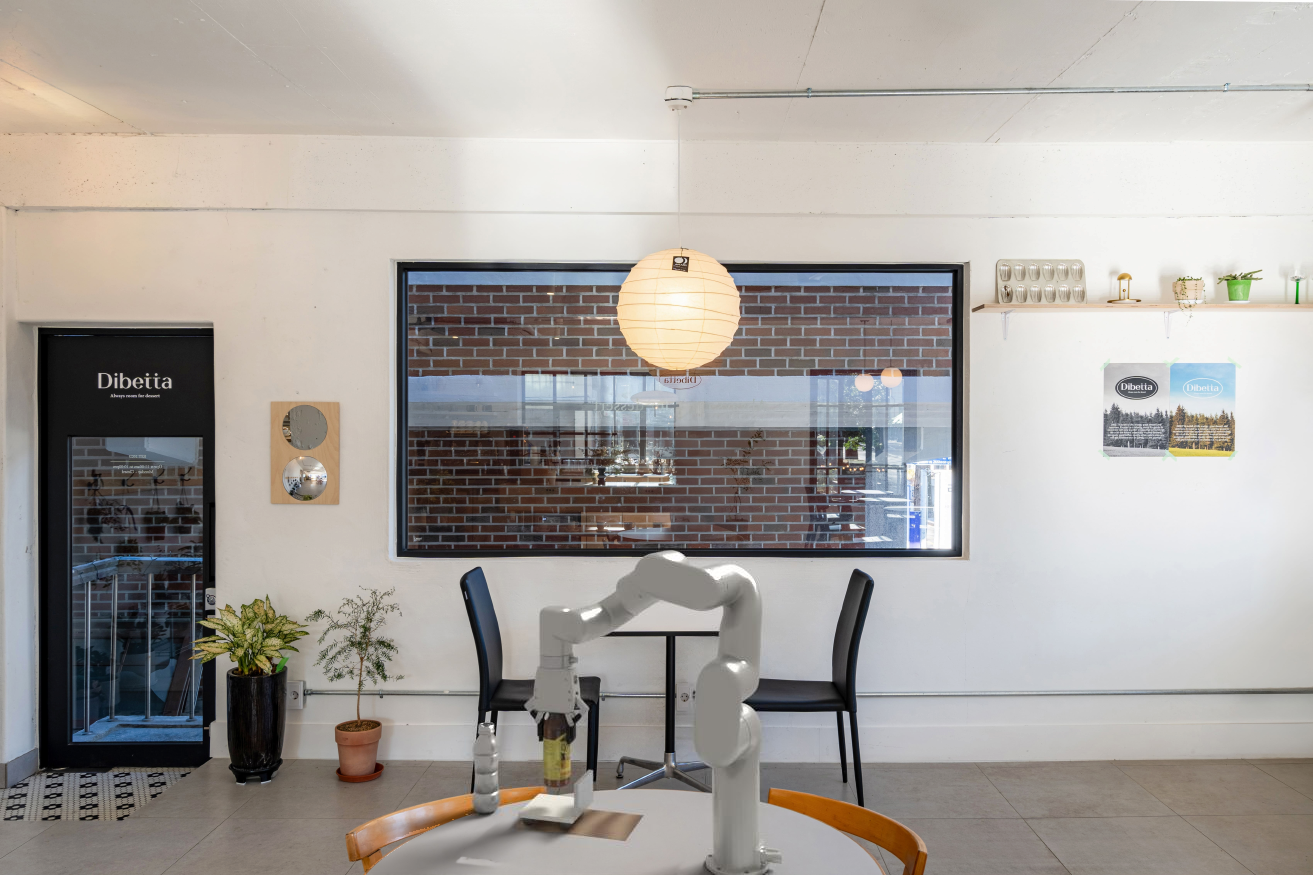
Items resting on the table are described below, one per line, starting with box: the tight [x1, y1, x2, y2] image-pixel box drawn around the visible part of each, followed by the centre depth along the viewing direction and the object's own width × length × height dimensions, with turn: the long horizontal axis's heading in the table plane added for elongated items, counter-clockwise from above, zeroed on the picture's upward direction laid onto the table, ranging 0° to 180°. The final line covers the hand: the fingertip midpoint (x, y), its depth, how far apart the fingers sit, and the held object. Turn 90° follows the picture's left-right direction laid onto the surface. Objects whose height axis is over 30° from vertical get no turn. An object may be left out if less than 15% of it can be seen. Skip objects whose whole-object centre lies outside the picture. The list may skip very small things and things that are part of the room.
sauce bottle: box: [542, 712, 572, 788], centre depth 180 cm, size 7×6×20 cm
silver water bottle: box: [472, 721, 501, 814], centre depth 186 cm, size 6×7×20 cm
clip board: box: [514, 808, 645, 842], centre depth 177 cm, size 26×13×1 cm, turn 74°
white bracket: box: [517, 769, 594, 830], centre depth 179 cm, size 14×11×10 cm
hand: (556, 740), depth 180 cm, fingers closed on sauce bottle, 6 cm apart
